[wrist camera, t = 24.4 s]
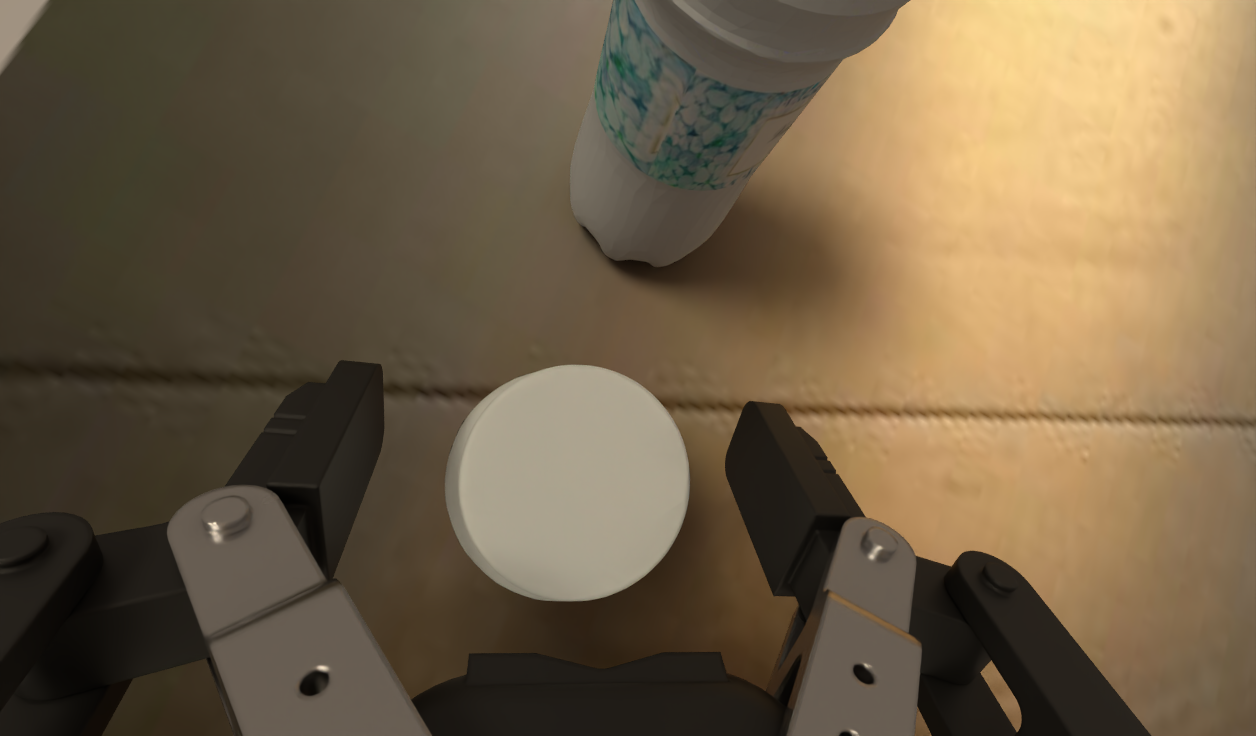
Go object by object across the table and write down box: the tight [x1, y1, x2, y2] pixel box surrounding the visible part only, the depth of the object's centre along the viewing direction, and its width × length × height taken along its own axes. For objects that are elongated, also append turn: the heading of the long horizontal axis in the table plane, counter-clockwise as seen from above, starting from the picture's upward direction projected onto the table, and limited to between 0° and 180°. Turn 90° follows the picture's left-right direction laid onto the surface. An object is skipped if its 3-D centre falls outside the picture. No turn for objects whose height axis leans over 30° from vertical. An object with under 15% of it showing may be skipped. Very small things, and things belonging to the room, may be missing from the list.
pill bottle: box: [445, 365, 690, 601], centre depth 16 cm, size 6×6×10 cm
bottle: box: [570, 0, 910, 267], centre depth 14 cm, size 7×7×20 cm
